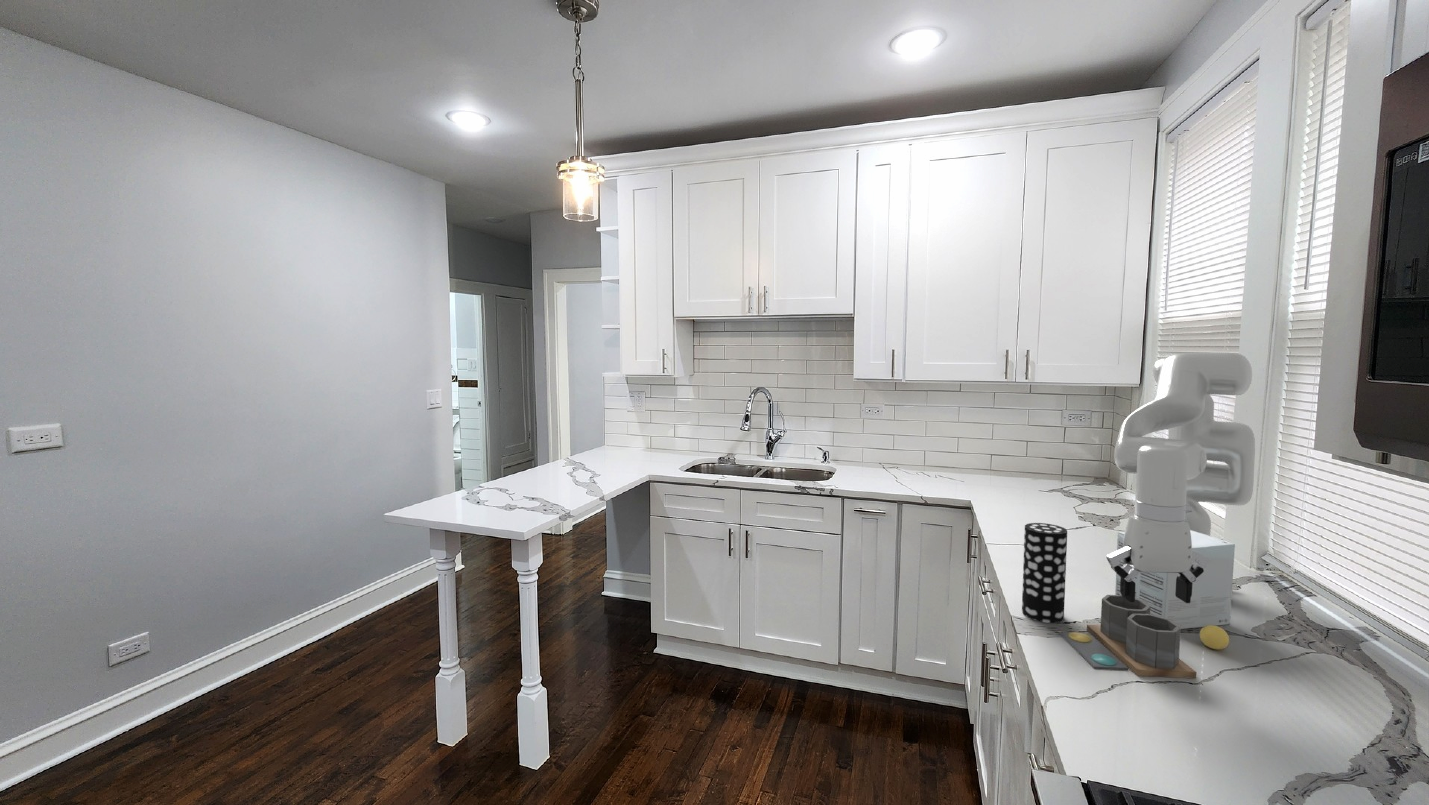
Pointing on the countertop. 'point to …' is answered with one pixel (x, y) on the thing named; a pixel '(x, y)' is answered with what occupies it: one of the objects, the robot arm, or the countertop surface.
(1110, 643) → the double cup sorting tray
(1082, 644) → the card
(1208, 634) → the ochre ball
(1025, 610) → the spotted tube
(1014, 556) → the countertop surface
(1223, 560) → the supplement box
